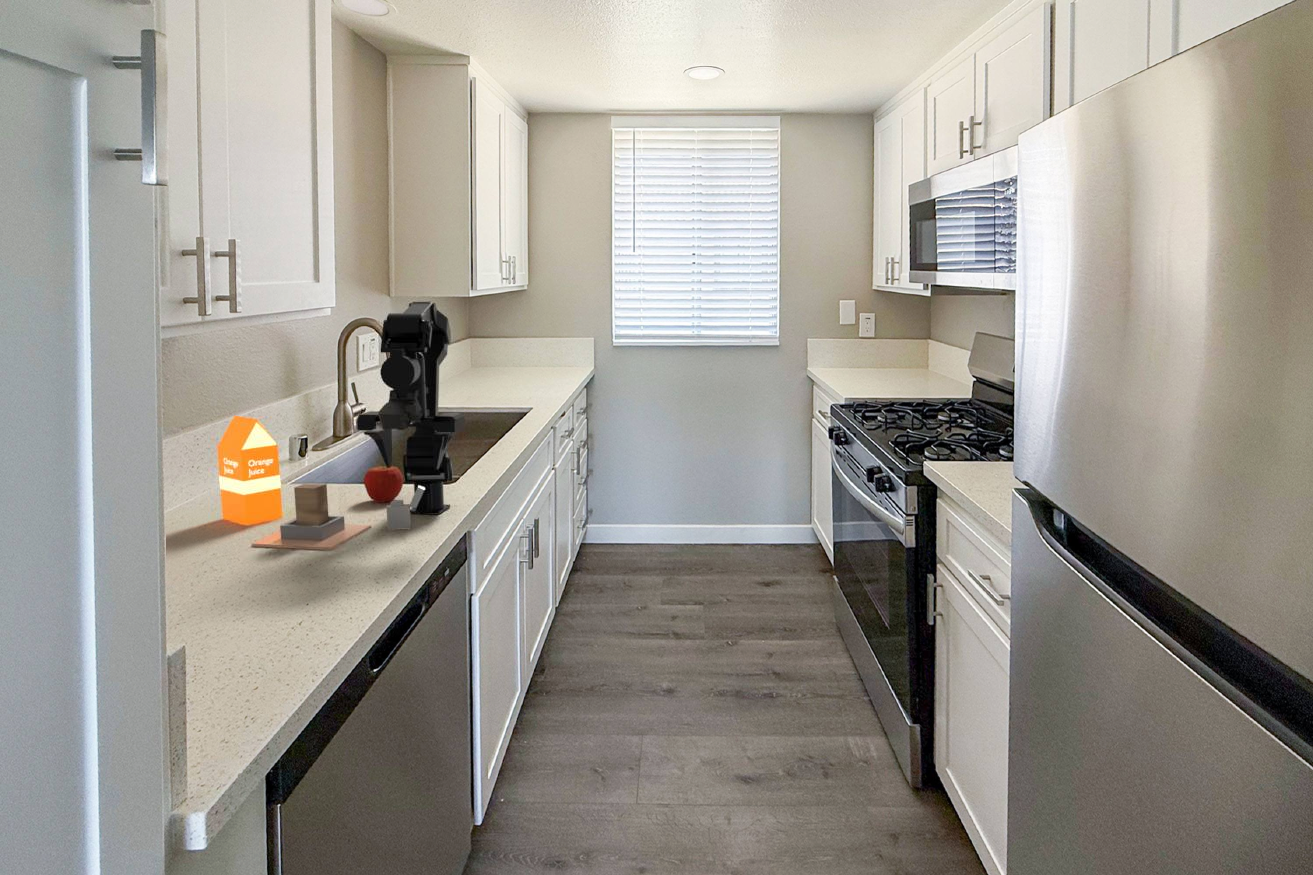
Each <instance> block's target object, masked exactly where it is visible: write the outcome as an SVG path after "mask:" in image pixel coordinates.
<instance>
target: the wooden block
mask: <svg viewBox="0 0 1313 875" xmlns="http://www.w3.org/2000/svg"><path fill="white" fill-rule="evenodd" d="M327 485H328V484H327V483H313V482H305V483H303V484H300V485H298V486H296V487H294V488H293V489H294V491H293V492H294V500H295V501H294V504H295V507H294V508H295V518H296V522H297V525H310V526H321V525H323V524H325V523H327V522H329V516H330V515H329V504H328V503H329V502H328V501H329V499H328V487H327Z"/></svg>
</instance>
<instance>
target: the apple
mask: <svg viewBox="0 0 1313 875" xmlns="http://www.w3.org/2000/svg"><path fill="white" fill-rule="evenodd" d="M403 484H404V475H403V473H402V472H401V470H400V469H399V468H398V467H397V466H393V465H391V467H390V468H387V467H386V465H384V464H382V465H379V466H375V467H372V468H370V469H368V470H367V471H366V472H365V474H364V477H363V485H364V487H365V490H366V493H367V496H369V498H370V499H371V500H372V501H375V502H376V503H389V502H390V503H391V502H392V501H394V500H396V498H397V497H398V496H399V495H400V492H401V491H402V488H403Z"/></svg>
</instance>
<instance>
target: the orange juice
mask: <svg viewBox="0 0 1313 875" xmlns="http://www.w3.org/2000/svg"><path fill="white" fill-rule="evenodd" d="M278 446H279V444H278V443H277V442H276V441H275V440H274V439H273V437H272V436H271V435H270V434H269V432H268V431H267V430H266V428H265V427H264V425H263V424H262V423H261V422H260V420H258V419H257V418H253V417H245V416H239V415H233V416H232V419H231V421H230V422H229V425H228V426H227V428H226V430H225V432H224V433H223V436H221V439H220V441H219V442H218V444H217V445H216V448H217V450H216V452H217V460H218V461H217V462H218V475H219V476H218V478H219V489H220V499H221V502H220V503H221V512H222V520H226V521H230V522H232V523H238V524H239V525H244V526H250V525H254V524H259V523H265V522H268V521H273V520H277V519H282V518H283V504H282V490H281V489H282V487H281V486H282V484H281V474H280V473H281V472H280V461H279V460H280V459H279V447H278Z"/></svg>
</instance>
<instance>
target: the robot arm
mask: <svg viewBox="0 0 1313 875" xmlns="http://www.w3.org/2000/svg"><path fill="white" fill-rule="evenodd" d="M381 331H382V332H381V343H380V353H381V354H385V353H388V354H389V357H388V358H386V359H385V361H384V362H383V363H382V364H381V368H380V372H379V373H380V377H381V380H382V382H383V383H384V384H385V385H386V386H387V387H388V388H390V389H391V390H389V395H388V398H389V399H388V402H385V404H384V405H383V406H382V407H381V408H380V409H379V411H373V410H371V411H370V410H369V411H366V412H363V413H359V414H358V416H357V417H356V418H355V419H356V420H355V426H356V431H363V435H365V436H368V437H370V438H371V439H372V440H373V441H374V443H375V444H376V446H377V448H378V450H379V452H380V455H381V457H382V459H383V462H384V464H385V466H386V467H387V468H390V467H391V466H393V465H392V464H393V463H392V462H393V441H392V440H393V435H392V434H393V432H392V431H393V430H397V431H405V430H407V429H408V428H411V427H413V428H415V429H414V432H413V433H412V435H409V436H408V437H407V440H406V450H405V452H404V453H403V456H402V467H403V474H404V475H403V477H404V482H405V484H409V483H412V484H413V491H414V492H413V493H414V494H415V492H416V490H417V487H418V485H420V486H423V487H425V490H424V492H423V494H422V496H421V498H420V501H419V503H418V505H417V507H416V509H415V508H412V507H411V508H410V514H420V515H421V514H423V515H429V514H430V515H440V514H441V513H443V512H445V511H446V510H448V509H450V507H451V504H445V501H444V500H445V498H444V483H449V482H453V480H454V474H453V467H452V466H453V465H452V459H451V458H450V457H449V454H448V451H447V448H448V445H449V443H450V441H451V439H452V437H453V435H456V434H458V433H459V431H460V430H462V429H463V430H464V429H465V428H466V420H465V419H466V418H465V417H464V415H463V413H462V412H442V413H439V395H440V392H439V390H440V386H439V385H440V366H441V365H442V363H443V361H444V360H445V359H446V357H447V355H448V350H449V349H448V346H449V345H451V342H452V341H451V340H452V334H451V331H452V330H451V328H450V323H449V318H448V316H446V315H445V314H443V313H442V312H441V311H439V310H438V308H437V304H436V302H432V301H412V302H409V304H408V307H407V308H406V310H404V311H403V312H402V313H401V312H400V313H395V312H394V313H388V314H387V316H386V319H384V320H383V324H382V330H381Z"/></svg>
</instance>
